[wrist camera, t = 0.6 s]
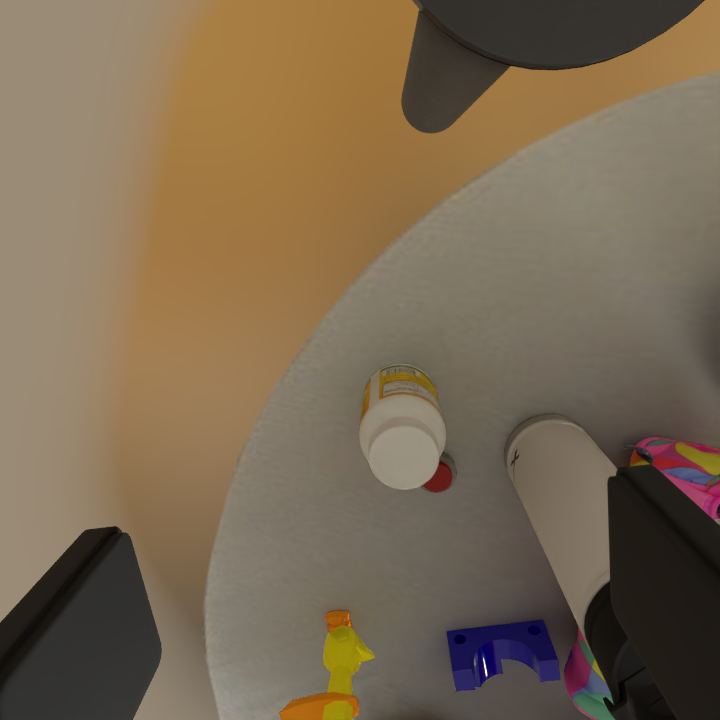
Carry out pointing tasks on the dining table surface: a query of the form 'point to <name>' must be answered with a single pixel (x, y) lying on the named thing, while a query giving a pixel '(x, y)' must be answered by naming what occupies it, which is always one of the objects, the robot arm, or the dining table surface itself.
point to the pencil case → (703, 486)
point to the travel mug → (581, 548)
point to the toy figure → (334, 675)
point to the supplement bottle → (402, 426)
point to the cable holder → (500, 652)
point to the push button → (442, 475)
